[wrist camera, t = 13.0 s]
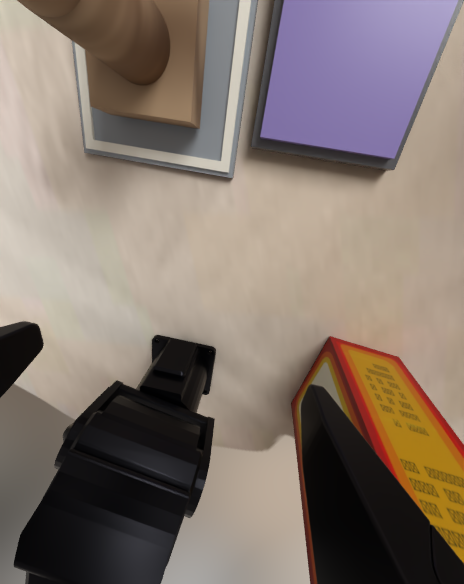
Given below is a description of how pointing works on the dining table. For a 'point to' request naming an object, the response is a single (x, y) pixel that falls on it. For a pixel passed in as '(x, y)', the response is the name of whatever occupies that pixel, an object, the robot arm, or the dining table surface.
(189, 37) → the stamp
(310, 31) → the ink pad
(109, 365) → the dining table surface
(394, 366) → the baking soda box
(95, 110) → the print card
